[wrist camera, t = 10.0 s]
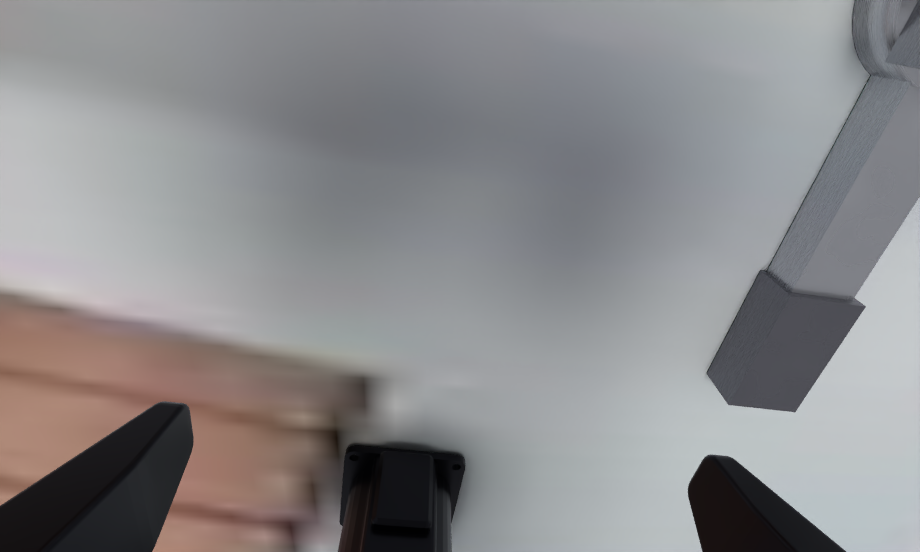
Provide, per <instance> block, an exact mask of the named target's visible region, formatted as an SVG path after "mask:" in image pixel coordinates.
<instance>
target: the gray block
mask: <svg viewBox="0 0 920 552" xmlns="http://www.w3.org/2000/svg"><path fill="white" fill-rule="evenodd" d="M885 62H886V63H891V64H896V65H901V66H906V67H911V68H916V69H920V0H918V1H917V3H916V5H915V7H914V9H913V11H912V13H911V14H910V16H909V18H908V20H907V22H906V24H905V25H904V27H903V29H902V31H901V33H900V35H899V36H898V38H897V40H896V42H895V44H894V46H893V48H892V49H891V51H890V53H889V55H888V57H887V59H886V60H885Z"/></svg>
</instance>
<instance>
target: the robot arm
mask: <svg viewBox="0 0 920 552" xmlns="http://www.w3.org/2000/svg"><path fill="white" fill-rule="evenodd" d="M192 448H193V431H192V424H191V416H190V410H189V407H188V406H187V405H186V404H184V403H175V402H159V403H157V404H155V405H153V406H152V407H150V408H149V409H147V410H146V411H144V412H143V413H141V414H140V415H138V416H137V417H135V418H134V419H132V420H131V421H129V422H127V423H126V424H124V425H123V426H121V427H120V428H118V429H117V430H115V431H114V432H112V433H111V434H109V435H108V436H106V437H105V438H103V439H101V440H100V441H98V442H97V443H95V444H94V445H92V446H91V447H89V448H88V449H86V450H85V451H83V452H82V453H80V454H79V455H77V456H76V457H74V458H72V459H71V460H69V461H68V462H66V463H65V464H63V465H62V466H60V467H59V468H57V469H56V470H54V471H53V472H51V473H50V474H48V475H46V476H45V477H43V478H42V479H40V480H39V481H37V482H36V483H34V484H33V485H31V486H30V487H28V488H27V489H25V490H24V491H22V492H20V493H19V494H17V495H16V496H14V497H13V498H11V499H10V500H8V501H7V502H5V503H4V504H2V505H1V506H0V552H152V551H153V549H154V547H155V544H156V542H157V539H158V537H159V535H160V532H161V530H162V527H163V524H164V522H165V519H166V517H167V514H168V512H169V509H170V506H171V504H172V501H173V499H174V496H175V494H176V491H177V488H178V486H179V483H180V481H181V478H182V475H183V473H184V470H185V468H186V465H187V463H188V460H189V457H190V455H191V452H192ZM464 471H465V459H464V457H462V456H460V455H454V454H443V453H432V452H421V451H410V450H400V449H389V448H378V447H367V446H356V445H355V446H350V447H348V448H347V450H346V453H345V460H344V473H343V486H342V498H341V511H340V524H341V525H342V526H343V527H342V533H341V538H340V543H339V549H338V552H452V547H451V523H452V519H453V515H454V511H455V507H456V503H457V499H458V495H459V491H460V487H461V483H462V479H463V475H464ZM688 497H689V501H690V505H691V509H692V513H693V517H694V521H695V524H696V528H697V532H698V536H699V540H700V544H701V548H702V551H703V552H846V551H845V550H844V549H842V548H841V547H840V546H839V545H838V544H836V543H835V542H834V541H833V540H831V539H830V538H829V537H828V536H827V535H825V534H824V533H823V532H822V531H821V530H819V529H818V528H817V527H816V526H815V525H813V524H812V523H811V522H810V521H808V520H807V519H806V518H805V517H804V516H802V515H801V514H800V513H799V512H798V511H796V510H795V509H794V508H793V507H791V506H790V505H789V504H788V503H787V502H785V501H784V500H783V499H782V498H781V497H779V496H778V495H777V494H776V493H774V492H773V491H772V490H771V489H770V488H768V487H767V486H766V485H765V484H764V483H762V482H761V481H760V480H759V479H758V478H756V477H755V476H754V475H753V474H751V473H750V472H749V471H748V470H747V469H745V468H744V467H743V466H742V465H741V464H739V463H738V462H737V461H736V460H734V459H733V458H731V457H728V456H720V455H708V456H706V457H705V458H704V459H703V460H702V462H701V464H700V465H699V467H698V469H697V471H696V472H695V474H694V476H693V477H692V479H691V481H690V483H689V486H688Z"/></svg>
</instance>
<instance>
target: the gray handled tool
mask: <svg viewBox="0 0 920 552" xmlns="http://www.w3.org/2000/svg"><path fill="white" fill-rule="evenodd" d="M917 1H918V0H855V5H854V12H853V38H854V43H855V48H856V51H857V54H858V56H859V59H860V61H861V62H862V64H863V66H864V67H865V69H866V70H867V71H868V72H869V73H870V75H871V77H870V78H869V80H868V82H867V84H866V86H865V88H864V90H863V92H862V93H861V95H860V97H859V99H858V101H857V103H856V105H855V107H854V108H853V110H852V112H851V114H850V116H849V118H848V120H847V122H846V124H845V125H844V127H843V129H842V131H841V133H840V135H839V137H838V139H837V140H836V142H835V144H834V146H833V148H832V150H831V152H830V154H829V155H828V157H827V159H826V161H825V163H824V165H823V167H822V169H821V170H820V172H819V174H818V176H817V178H816V180H815V182H814V184H813V186H812V187H811V189H810V191H809V193H808V195H807V197H806V199H805V201H804V202H803V204H802V206H801V208H800V210H799V212H798V214H797V216H796V217H795V219H794V221H793V223H792V225H791V227H790V229H789V231H788V233H787V234H786V236H785V238H784V240H783V242H782V244H781V246H780V248H779V249H778V251H777V253H776V255H775V257H774V259H773V261H772V263H771V264H770V266H769V268H768V270H767V271H762V270H761V271H760V273H759V275H758V277H757V278H756V280H755V282H754V284H753V286H752V288H751V290H750V292H749V294H748V296H747V297H746V299H745V301H744V303H743V305H742V307H741V309H740V311H739V313H738V315H737V317H736V318H735V320H734V322H733V324H732V326H731V328H730V330H729V332H728V334H727V336H726V338H725V339H724V341H723V343H722V345H721V347H720V349H719V351H718V353H717V355H716V357H715V358H714V360H713V362H712V364H711V366H710V368H709V370H708V372H707V375H708V376H709V378H710V379H711V380H712V382H713V383H714V385H715V386H716V388H717V389H718V391H719V392H720V393H721V395H722V396H723V398H724V399H725V401H726V402H727V403H728V405H735V406H744V407H753V408H763V409H772V410H781V411H790V412H796V410H797V409H798V407H799V406H800V404H801V403H802V401H803V400H804V398H805V397H806V395H807V394H808V392H809V391H810V389H811V388H812V386H813V385H814V383H815V382H816V380H817V379H818V377H819V376H820V374H821V373H822V371H823V370H824V368H825V367H826V365H827V364H828V362H829V361H830V359H831V358H832V356H833V355H834V353H835V352H836V350H837V349H838V347H839V346H840V344H841V343H842V341H843V340H844V338H845V337H846V335H847V334H848V332H849V331H850V329H851V328H852V326H853V325H854V323H855V322H856V320H857V319H858V317H859V316H860V314H861V313H862V311H863V310H864V308H865V307H866V306H864V305H863V304H862V303H860V302H859V301H858V300H856V299H855V298H854V297H855V296H856V294H857V292H858V291H859V289H860V288H861V286H862V285H863V283H864V282H865V280H866V279H867V277H868V276H869V274H870V272H871V271H872V269H873V268H874V266H875V265H876V263H877V262H878V260H879V259H880V257H881V255H882V254H883V252H884V251H885V249H886V248H887V246H888V245H889V243H890V242H891V240H892V238H893V237H894V235H895V234H896V232H897V231H898V229H899V228H900V226H901V225H902V223H903V222H904V220H905V218H906V217H907V215H908V214H909V212H910V211H911V209H912V208H913V206H914V205H915V203H916V201H917V200H918V198H919V197H920V69H916V68H911V67H906V66H901V65H896V64H891V63H886V62H885V60H886V59H887V57H888V55H889V53H890V51H891V49H892V48H893V46H894V44H895V42H896V40H897V38H898V36H899V35H900V33H901V31H902V29H903V27H904V25H905V24H906V22H907V20H908V18H909V16H910V14H911V13H912V11H913V9H914V7H915V5H916V3H917Z"/></svg>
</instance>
